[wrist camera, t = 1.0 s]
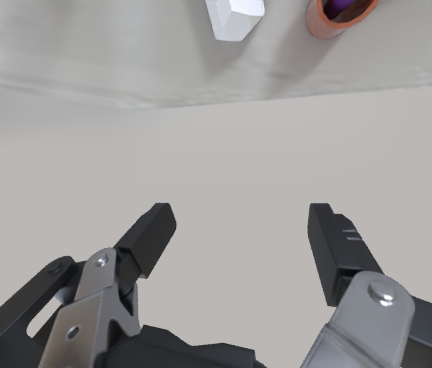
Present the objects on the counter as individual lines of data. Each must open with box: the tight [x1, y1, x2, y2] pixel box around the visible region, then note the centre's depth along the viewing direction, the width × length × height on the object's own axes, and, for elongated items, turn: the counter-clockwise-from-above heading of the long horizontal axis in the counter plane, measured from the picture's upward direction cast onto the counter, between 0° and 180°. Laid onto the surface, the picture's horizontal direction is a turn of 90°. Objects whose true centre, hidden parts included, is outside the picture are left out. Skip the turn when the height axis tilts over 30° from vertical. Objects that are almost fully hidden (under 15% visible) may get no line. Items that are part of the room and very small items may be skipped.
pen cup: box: [306, 0, 379, 39], centre depth 20 cm, size 6×6×6 cm
